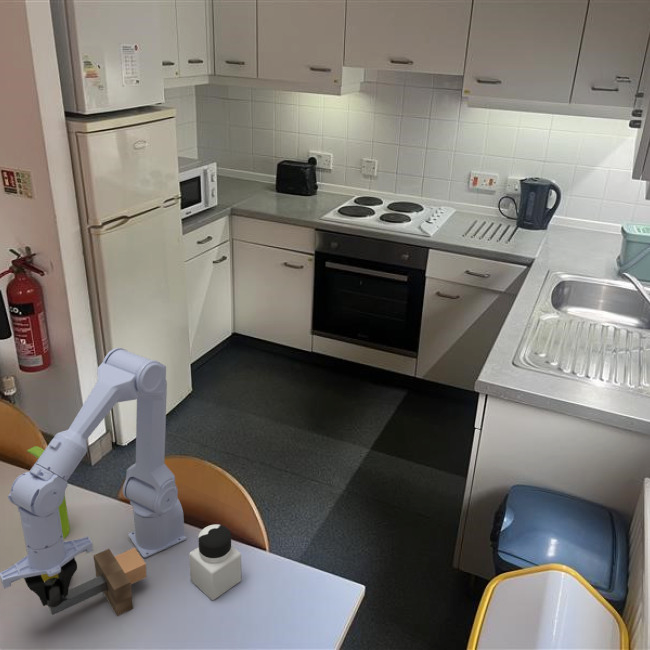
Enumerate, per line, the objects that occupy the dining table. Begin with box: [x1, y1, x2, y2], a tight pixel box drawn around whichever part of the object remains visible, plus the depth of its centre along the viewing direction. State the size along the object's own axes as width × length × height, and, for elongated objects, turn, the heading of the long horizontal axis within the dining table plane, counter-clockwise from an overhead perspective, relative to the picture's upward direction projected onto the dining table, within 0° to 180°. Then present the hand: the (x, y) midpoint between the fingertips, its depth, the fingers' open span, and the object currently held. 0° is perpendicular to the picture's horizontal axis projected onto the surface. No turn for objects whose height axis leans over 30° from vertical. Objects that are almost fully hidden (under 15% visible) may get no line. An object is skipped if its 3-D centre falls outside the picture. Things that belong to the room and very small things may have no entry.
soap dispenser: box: [26, 445, 71, 540], centre depth 129 cm, size 6×7×20 cm
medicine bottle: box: [188, 523, 242, 601], centre depth 121 cm, size 7×7×12 cm
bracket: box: [93, 548, 134, 617], centre depth 118 cm, size 3×10×6 cm, turn 38°
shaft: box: [44, 575, 108, 616], centre depth 114 cm, size 15×3×6 cm, turn 128°
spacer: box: [114, 547, 147, 585], centre depth 119 cm, size 4×5×4 cm
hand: (53, 597), depth 111 cm, fingers closed on shaft, 3 cm apart
